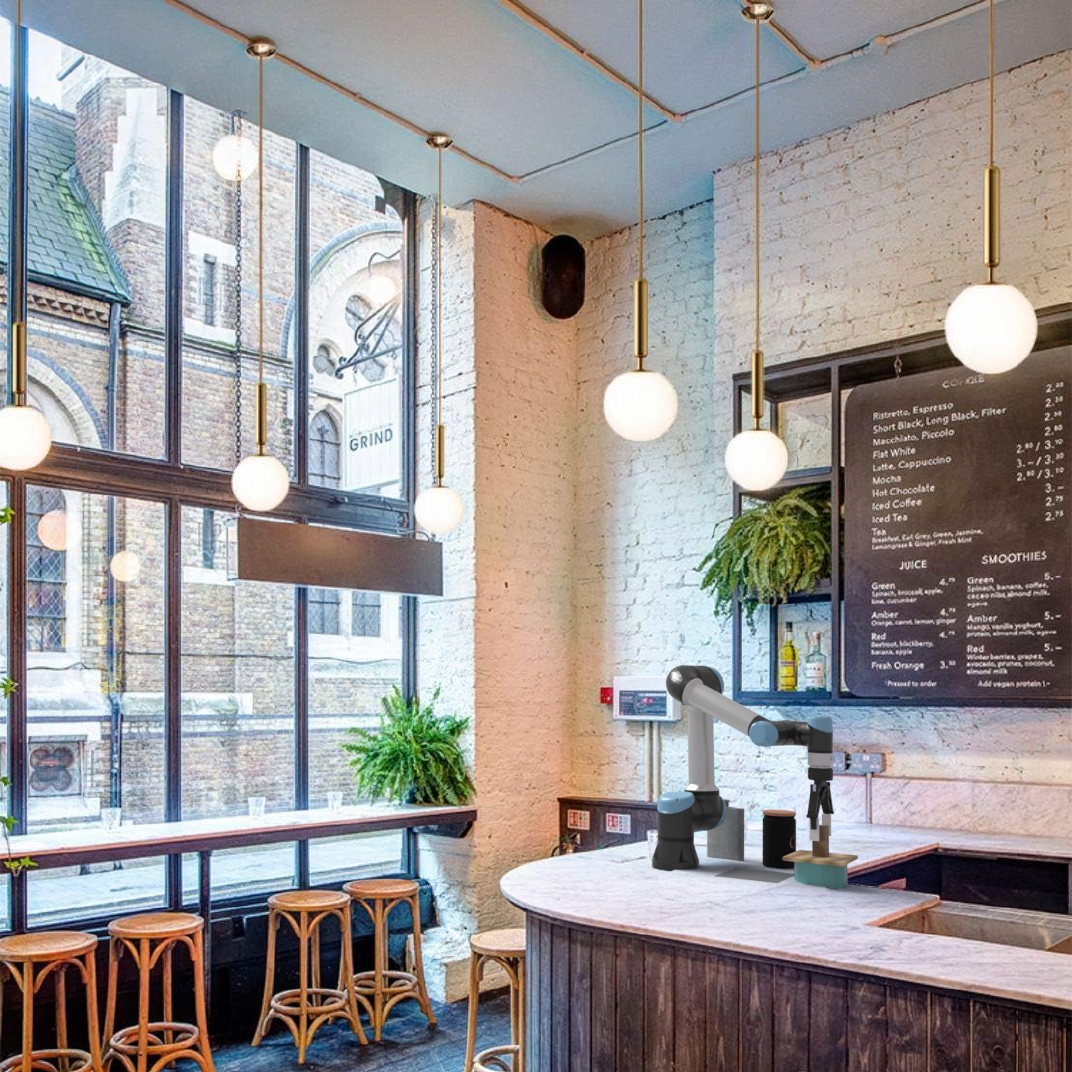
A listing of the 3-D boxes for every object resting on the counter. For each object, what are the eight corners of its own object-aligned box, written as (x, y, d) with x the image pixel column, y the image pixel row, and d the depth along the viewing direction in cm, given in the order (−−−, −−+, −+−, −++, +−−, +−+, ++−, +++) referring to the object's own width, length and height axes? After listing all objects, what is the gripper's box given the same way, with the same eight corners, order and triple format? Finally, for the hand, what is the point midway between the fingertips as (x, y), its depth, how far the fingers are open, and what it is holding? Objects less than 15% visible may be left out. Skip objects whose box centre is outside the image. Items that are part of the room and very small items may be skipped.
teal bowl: (789, 884, 345) (789, 860, 346) (803, 877, 358) (803, 854, 359) (839, 889, 338) (839, 865, 339) (852, 882, 351) (851, 858, 352)
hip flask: (746, 862, 385) (746, 801, 387) (737, 863, 382) (737, 801, 385) (711, 855, 397) (712, 796, 400) (703, 856, 395) (703, 797, 397)
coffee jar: (796, 871, 368) (796, 814, 370) (762, 869, 370) (762, 812, 372) (795, 866, 379) (795, 810, 381) (762, 864, 381) (762, 808, 383)
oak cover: (782, 860, 345) (782, 826, 347) (799, 853, 361) (799, 820, 362) (843, 866, 337) (842, 831, 338) (857, 858, 352) (857, 825, 353)
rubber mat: (713, 877, 353) (713, 875, 353) (735, 869, 370) (735, 867, 370) (777, 885, 343) (777, 883, 343) (796, 875, 361) (796, 873, 361)
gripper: (821, 770, 339) (821, 844, 337) (842, 765, 361) (843, 834, 359) (796, 768, 343) (796, 841, 341) (819, 763, 365) (819, 832, 362)
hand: (820, 838), depth 350 cm, fingers open, 13 cm apart
